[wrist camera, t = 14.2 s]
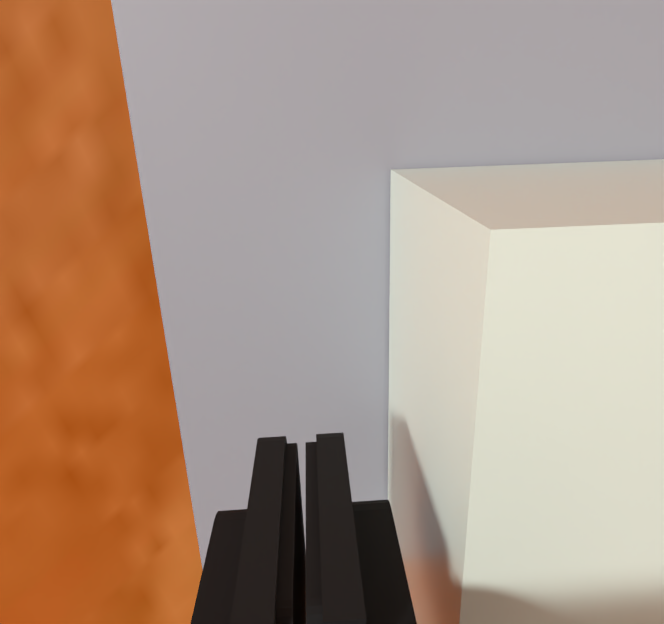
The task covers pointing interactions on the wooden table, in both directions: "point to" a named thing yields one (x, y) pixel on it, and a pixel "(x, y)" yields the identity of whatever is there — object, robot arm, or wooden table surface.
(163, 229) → the base board
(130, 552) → the wooden table surface
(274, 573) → the robot arm
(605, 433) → the housing cover
